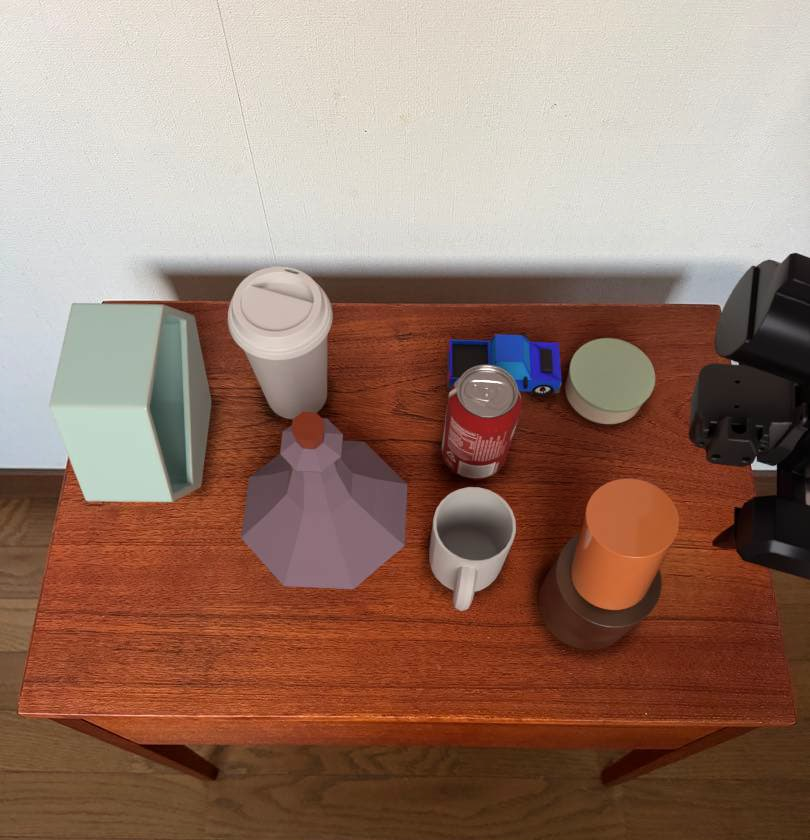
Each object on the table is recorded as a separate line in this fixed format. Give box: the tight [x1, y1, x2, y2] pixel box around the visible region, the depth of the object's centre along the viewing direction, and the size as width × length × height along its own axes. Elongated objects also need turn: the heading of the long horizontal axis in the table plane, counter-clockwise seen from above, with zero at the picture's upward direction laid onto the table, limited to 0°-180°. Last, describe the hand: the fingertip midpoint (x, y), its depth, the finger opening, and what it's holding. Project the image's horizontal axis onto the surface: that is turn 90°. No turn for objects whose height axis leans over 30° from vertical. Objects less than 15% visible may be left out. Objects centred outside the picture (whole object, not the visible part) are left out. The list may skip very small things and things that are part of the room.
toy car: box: [446, 331, 562, 397], centre depth 77 cm, size 7×12×5 cm, turn 89°
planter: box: [49, 302, 212, 503], centre depth 68 cm, size 17×8×21 cm
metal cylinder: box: [537, 532, 663, 651], centre depth 66 cm, size 9×9×8 cm
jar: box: [564, 337, 656, 425], centre depth 78 cm, size 9×9×3 cm
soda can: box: [441, 365, 523, 481], centre depth 70 cm, size 7×7×12 cm
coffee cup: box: [227, 265, 334, 421], centre depth 72 cm, size 10×10×15 cm
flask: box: [240, 412, 408, 590], centre depth 63 cm, size 16×16×20 cm
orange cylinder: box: [571, 478, 680, 610], centre depth 57 cm, size 7×7×10 cm
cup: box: [428, 486, 517, 612], centre depth 67 cm, size 7×10×9 cm
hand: (719, 494), depth 59 cm, fingers open, 9 cm apart
